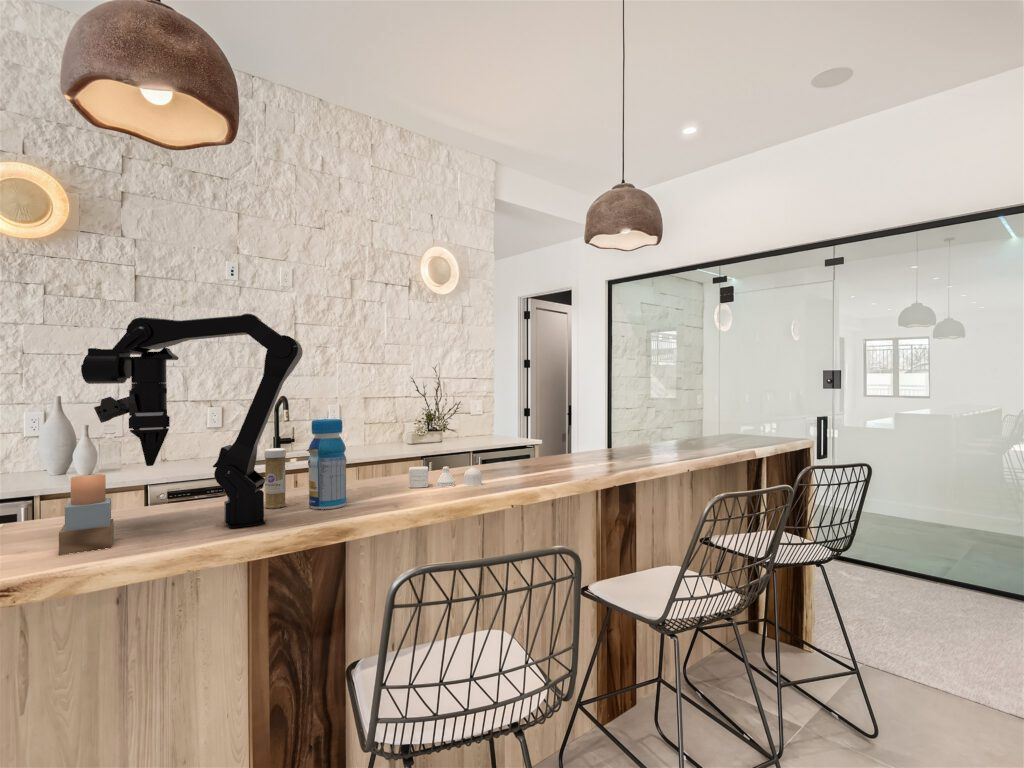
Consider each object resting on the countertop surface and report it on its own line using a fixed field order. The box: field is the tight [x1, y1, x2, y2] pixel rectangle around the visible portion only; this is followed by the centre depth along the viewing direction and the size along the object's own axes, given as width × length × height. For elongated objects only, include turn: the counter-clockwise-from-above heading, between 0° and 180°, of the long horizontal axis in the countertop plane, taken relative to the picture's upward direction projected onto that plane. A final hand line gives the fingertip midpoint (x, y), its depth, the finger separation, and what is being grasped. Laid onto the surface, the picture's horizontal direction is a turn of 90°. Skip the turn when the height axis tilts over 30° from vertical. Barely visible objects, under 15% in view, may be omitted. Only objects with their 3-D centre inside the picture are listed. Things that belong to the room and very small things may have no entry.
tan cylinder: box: [70, 473, 107, 505], centre depth 95 cm, size 5×5×4 cm
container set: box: [408, 465, 483, 489], centre depth 151 cm, size 20×5×6 cm, turn 96°
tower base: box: [58, 518, 115, 556], centre depth 95 cm, size 7×7×4 cm
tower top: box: [64, 497, 112, 531], centre depth 95 cm, size 6×6×4 cm
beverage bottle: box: [307, 418, 348, 511], centre depth 125 cm, size 8×8×20 cm
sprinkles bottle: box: [264, 447, 287, 509], centre depth 126 cm, size 5×5×13 cm
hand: (149, 463), depth 106 cm, fingers open, 9 cm apart
